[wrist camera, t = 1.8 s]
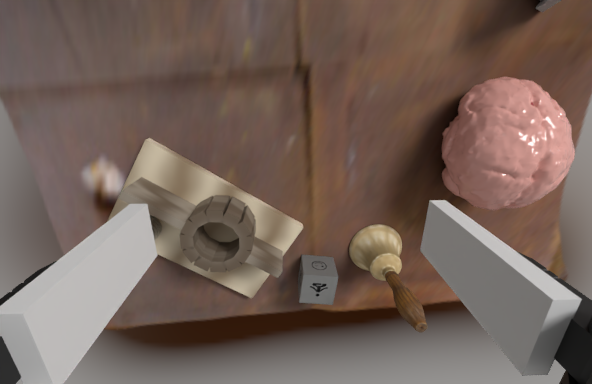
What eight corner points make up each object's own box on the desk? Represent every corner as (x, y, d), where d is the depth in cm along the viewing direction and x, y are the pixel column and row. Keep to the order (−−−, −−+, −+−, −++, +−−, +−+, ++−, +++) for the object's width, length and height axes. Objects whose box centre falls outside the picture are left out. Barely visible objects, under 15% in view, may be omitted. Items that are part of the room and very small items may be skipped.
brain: (426, 95, 41) (488, 48, 29) (511, 103, 41) (607, 60, 29) (421, 207, 40) (483, 207, 28) (508, 212, 41) (605, 216, 29)
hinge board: (108, 225, 41) (80, 248, 36) (149, 137, 37) (124, 148, 31) (252, 293, 47) (248, 322, 41) (302, 224, 43) (305, 246, 37)
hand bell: (347, 228, 43) (380, 304, 28) (401, 220, 43) (463, 293, 28) (350, 272, 46) (382, 363, 31) (401, 265, 46) (457, 353, 31)
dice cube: (332, 256, 45) (338, 277, 40) (327, 282, 47) (332, 304, 42) (301, 254, 45) (303, 274, 40) (297, 280, 47) (299, 302, 42)
